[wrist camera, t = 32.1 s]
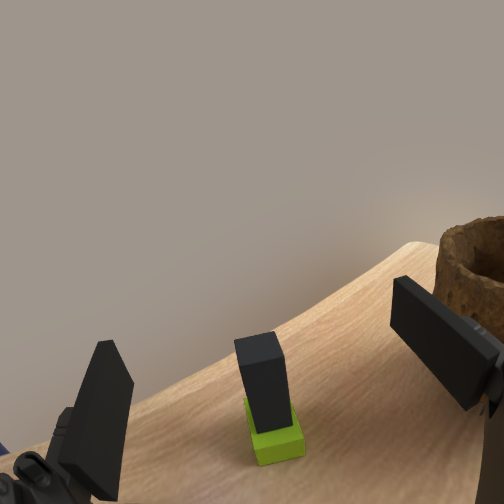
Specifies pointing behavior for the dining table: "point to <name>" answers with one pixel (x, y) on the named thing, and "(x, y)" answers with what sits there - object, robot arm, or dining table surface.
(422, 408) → the dining table surface
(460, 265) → the bowl
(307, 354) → the dining table surface
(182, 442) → the dining table surface
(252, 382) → the two-tone block stack
